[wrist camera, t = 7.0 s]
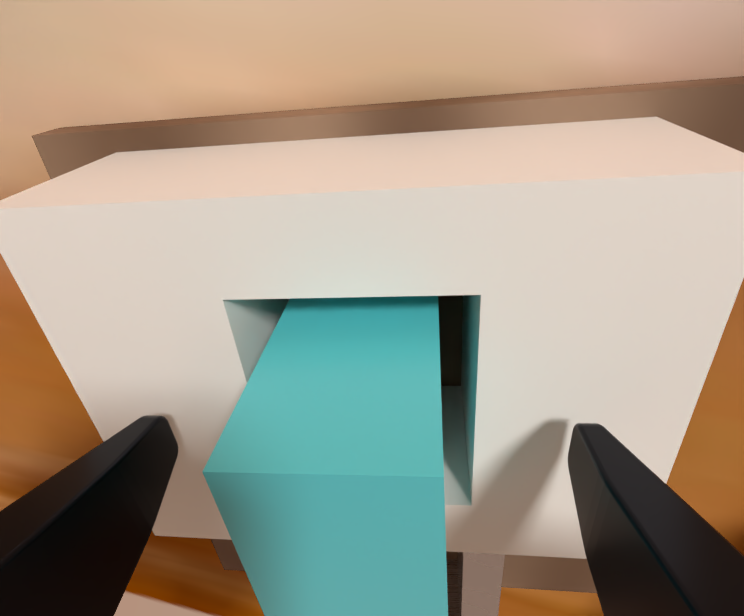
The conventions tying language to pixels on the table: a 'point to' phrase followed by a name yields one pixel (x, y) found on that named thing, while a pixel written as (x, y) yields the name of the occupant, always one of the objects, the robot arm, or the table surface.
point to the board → (664, 100)
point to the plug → (340, 462)
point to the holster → (474, 584)
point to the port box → (403, 292)
